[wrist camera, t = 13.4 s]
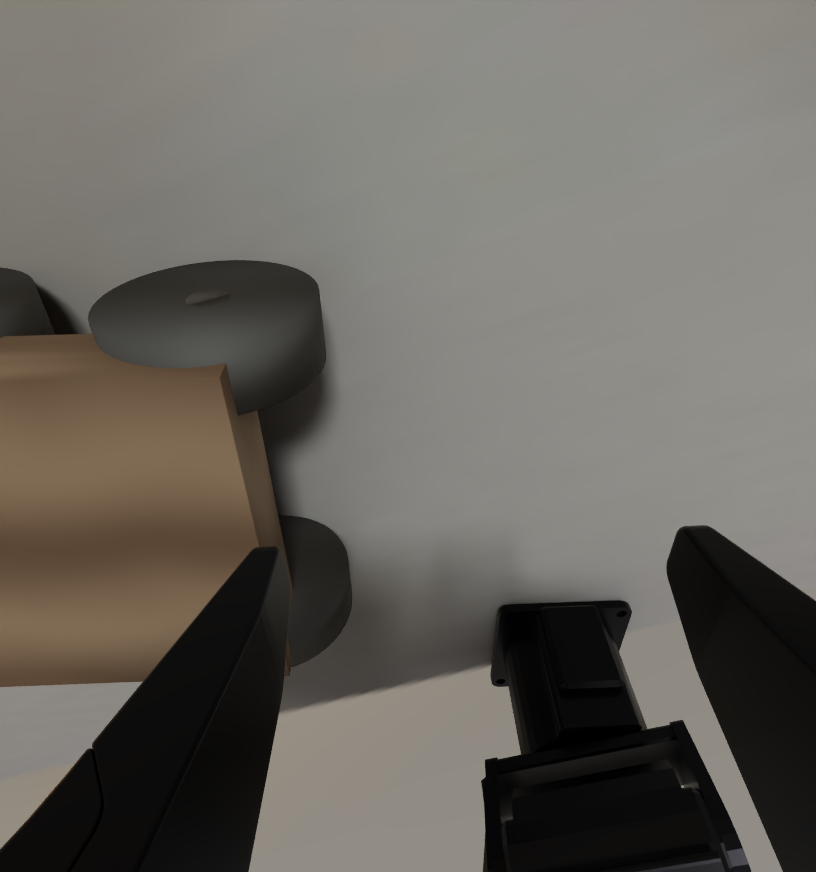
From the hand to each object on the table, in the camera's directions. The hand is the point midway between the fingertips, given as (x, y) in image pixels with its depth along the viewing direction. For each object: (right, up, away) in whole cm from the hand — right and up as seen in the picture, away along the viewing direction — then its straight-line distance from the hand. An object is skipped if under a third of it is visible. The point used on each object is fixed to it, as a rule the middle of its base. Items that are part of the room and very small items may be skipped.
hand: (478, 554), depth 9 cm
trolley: (-11, +2, +13) cm, 17 cm away
